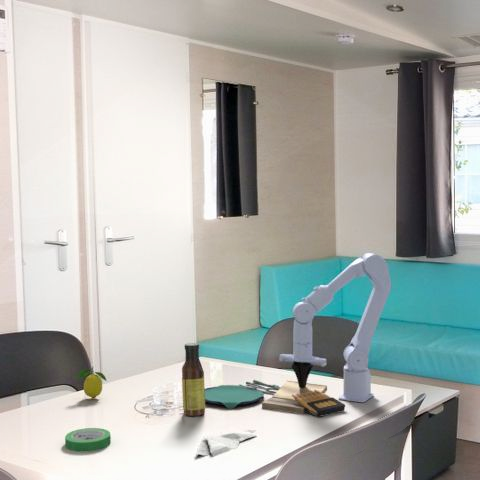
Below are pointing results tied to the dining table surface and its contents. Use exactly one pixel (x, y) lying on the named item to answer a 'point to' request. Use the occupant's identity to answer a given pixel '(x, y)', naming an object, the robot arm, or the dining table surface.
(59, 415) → the dining table surface
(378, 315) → the robot arm
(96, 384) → the lemon
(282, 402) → the floor row
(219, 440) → the cloth
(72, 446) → the tape roll
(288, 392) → the plank
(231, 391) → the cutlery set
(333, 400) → the ammunition clip
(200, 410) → the sauce bottle
